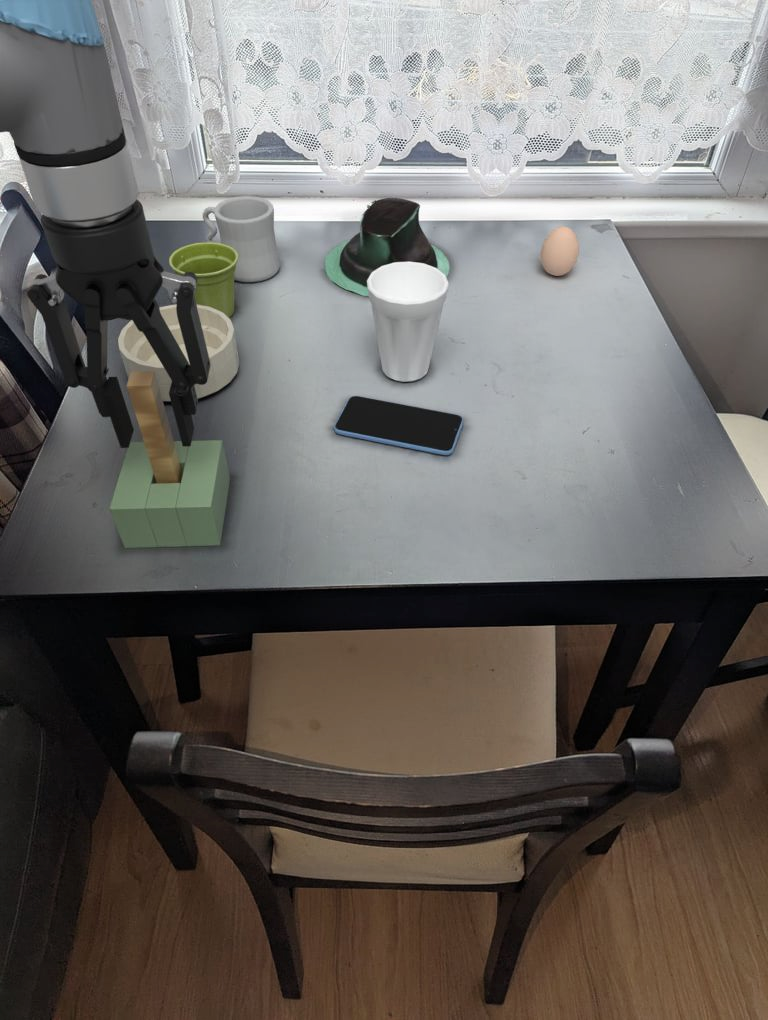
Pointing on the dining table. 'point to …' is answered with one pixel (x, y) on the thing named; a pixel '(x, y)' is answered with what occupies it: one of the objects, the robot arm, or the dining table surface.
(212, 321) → the bowl
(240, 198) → the mug
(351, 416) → the smartphone
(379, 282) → the cup
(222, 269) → the plant pot
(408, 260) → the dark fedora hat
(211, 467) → the holder
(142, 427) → the stirring stick
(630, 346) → the dining table surface
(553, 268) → the egg
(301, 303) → the dining table surface
